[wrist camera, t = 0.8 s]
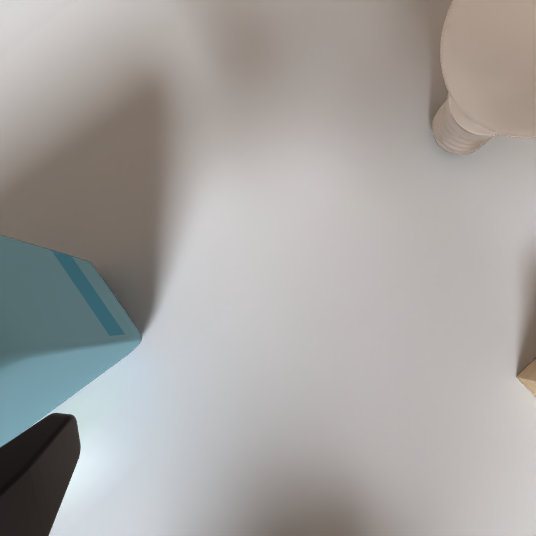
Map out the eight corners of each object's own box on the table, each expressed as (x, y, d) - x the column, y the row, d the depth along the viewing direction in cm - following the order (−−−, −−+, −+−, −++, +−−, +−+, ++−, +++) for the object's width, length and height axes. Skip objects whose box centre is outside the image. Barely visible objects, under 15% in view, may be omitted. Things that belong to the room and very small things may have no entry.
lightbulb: (495, 215, 22) (704, 112, 11) (371, 168, 22) (453, 26, 12) (538, 98, 23) (776, -109, 12) (416, 55, 23) (535, -183, 12)
